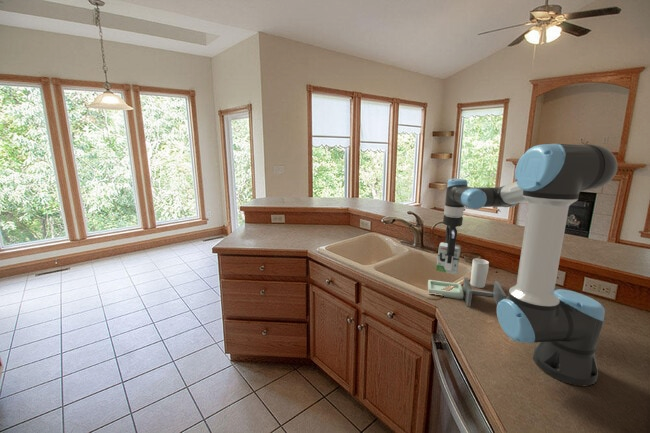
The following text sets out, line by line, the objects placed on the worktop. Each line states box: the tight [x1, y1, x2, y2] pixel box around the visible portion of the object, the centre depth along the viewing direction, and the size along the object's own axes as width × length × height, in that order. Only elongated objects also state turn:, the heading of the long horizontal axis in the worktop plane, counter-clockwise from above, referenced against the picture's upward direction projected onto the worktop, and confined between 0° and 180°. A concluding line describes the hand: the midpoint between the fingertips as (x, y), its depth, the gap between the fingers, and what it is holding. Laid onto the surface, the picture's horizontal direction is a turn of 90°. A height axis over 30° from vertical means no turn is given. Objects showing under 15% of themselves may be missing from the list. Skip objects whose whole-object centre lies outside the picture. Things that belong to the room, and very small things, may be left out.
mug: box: [469, 258, 490, 289], centre depth 142 cm, size 10×7×12 cm, turn 119°
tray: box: [427, 279, 464, 300], centre depth 136 cm, size 10×14×2 cm
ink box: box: [435, 241, 462, 275], centre depth 132 cm, size 9×5×12 cm, turn 63°
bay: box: [462, 276, 508, 308], centre depth 127 cm, size 14×13×7 cm
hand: (447, 266), depth 133 cm, fingers closed on ink box, 6 cm apart
